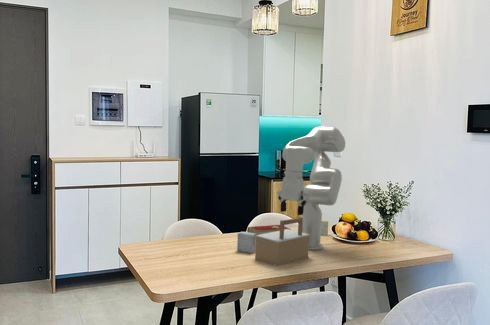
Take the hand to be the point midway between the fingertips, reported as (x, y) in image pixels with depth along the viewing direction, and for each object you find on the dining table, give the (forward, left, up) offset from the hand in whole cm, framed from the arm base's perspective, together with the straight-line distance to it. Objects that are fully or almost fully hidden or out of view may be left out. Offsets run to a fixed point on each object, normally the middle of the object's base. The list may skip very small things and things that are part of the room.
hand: (291, 213), depth 202 cm
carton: (-5, 0, -22) cm, 22 cm away
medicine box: (-23, -5, -22) cm, 32 cm away
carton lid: (-5, 0, -11) cm, 12 cm away
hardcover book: (-40, +31, -22) cm, 56 cm away
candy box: (-25, +51, -22) cm, 61 cm away
